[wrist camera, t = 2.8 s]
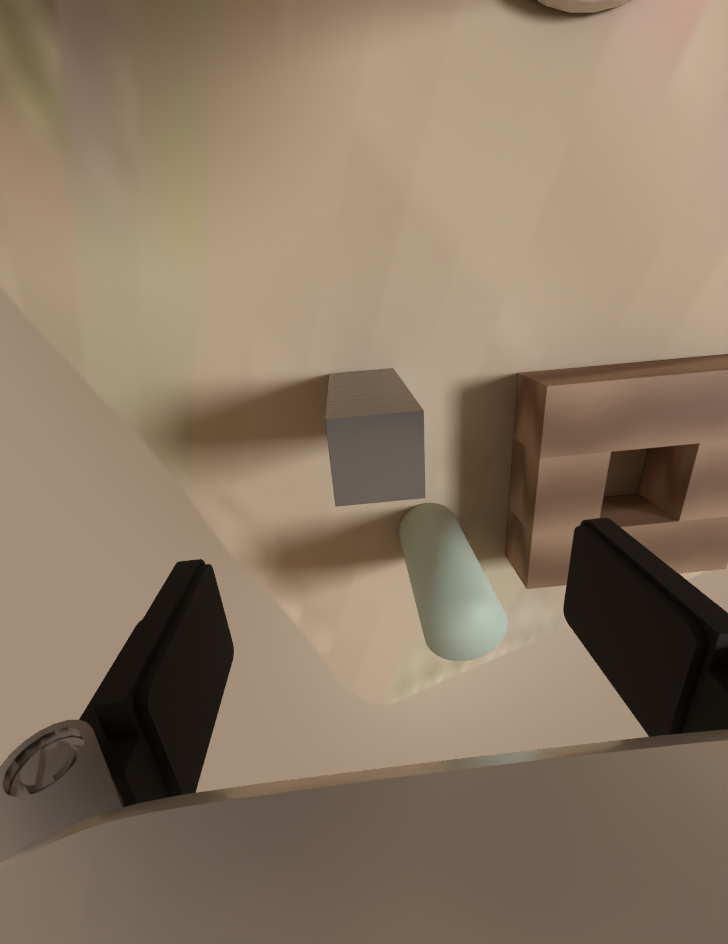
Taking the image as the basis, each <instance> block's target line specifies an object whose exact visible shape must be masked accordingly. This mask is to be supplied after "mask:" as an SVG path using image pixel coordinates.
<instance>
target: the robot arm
mask: <svg viewBox="0 0 728 944" xmlns="http://www.w3.org/2000/svg"><path fill="white" fill-rule="evenodd" d="M537 1H538V2H540V3H542V4H543V5H545V6H547V7H551V8H555V9H558V10H562V11H566V12H569V13H595V12H599V11H603V10H606V9H610V8H614V7H618V6H621V5H623V4H625V3H627V2H629V1H630V0H537ZM563 610H564V616H565V619H566V621H567V623H568V624H569V626H570V627H571V628H572V629H573V631H574V633H575V634H576V635H577V637H578V638H579V640H580V641H581V642H582V644H583V645H584V646H585V648H586V649H587V651H588V652H589V653H590V655H591V656H592V658H593V659H594V660H595V662H596V663H597V665H598V666H599V667H600V669H601V670H602V671H603V673H604V674H605V676H606V677H607V678H608V680H609V681H610V683H611V684H612V685H613V687H614V688H615V690H616V691H617V692H618V694H619V695H620V697H621V698H622V699H623V701H624V702H625V703H626V705H627V706H628V708H629V709H630V710H631V712H632V713H633V715H634V716H635V717H636V719H637V720H638V721H639V723H640V724H641V726H642V727H643V729H644V730H645V731H646V733H647V734H648V736H649V737H644V738H636V739H626V740H618V741H608V742H601V743H592V744H583V745H573V746H565V747H557V748H547V749H538V750H530V751H521V752H513V753H504V754H496V755H488V756H479V757H471V758H462V759H454V760H446V761H437V762H429V763H421V764H412V765H404V766H396V767H388V768H380V769H372V770H364V771H357V772H348V773H340V774H332V775H324V776H316V777H308V778H301V779H292V780H284V781H277V782H268V783H261V784H254V785H248V786H241V787H234V788H227V789H219V790H212V791H206V792H198V793H195V792H196V789H197V785H198V782H199V778H200V774H201V771H202V767H203V764H204V760H205V757H206V753H207V749H208V746H209V743H210V739H211V735H212V732H213V728H214V725H215V721H216V718H217V714H218V711H219V707H220V704H221V700H222V696H223V693H224V689H225V686H226V682H227V679H228V675H229V672H230V668H231V664H232V661H233V655H234V647H233V642H232V638H231V634H230V631H229V627H228V623H227V620H226V616H225V612H224V608H223V604H222V601H221V597H220V593H219V589H218V586H217V582H216V578H215V574H214V571H213V568H212V566H211V565H210V564H207V565H205V562H204V561H203V560H201V559H200V560H190V561H180V562H177V563H176V565H175V566H174V568H173V570H172V571H171V573H170V575H169V577H168V578H167V580H166V581H165V583H164V585H163V586H162V588H161V590H160V591H159V593H158V595H157V596H156V598H155V600H154V601H153V603H152V605H151V607H150V608H149V610H148V611H147V613H146V615H145V616H144V618H143V620H141V621H140V622H139V623H138V624H137V625H136V627H135V628H134V630H133V632H132V634H131V635H130V637H129V638H128V640H127V642H126V643H125V645H124V647H123V648H122V650H121V652H120V653H119V655H118V657H117V658H116V660H115V661H114V663H113V665H112V667H111V668H110V670H109V672H108V673H107V675H106V676H105V678H104V680H103V681H102V683H101V685H100V686H99V688H98V689H97V692H96V693H95V694H94V696H93V698H92V700H91V701H90V703H89V704H88V706H87V708H86V709H85V711H84V713H83V714H82V716H81V718H80V719H79V720H66V721H63V722H60V723H56V724H53V725H51V726H49V727H47V728H45V729H43V730H41V731H39V732H37V733H36V734H34V735H33V736H31V737H30V738H28V739H27V740H25V741H24V742H23V743H22V744H21V745H20V746H19V747H17V748H16V749H15V750H14V751H13V752H12V753H11V754H10V755H9V756H8V758H7V759H6V760H5V761H4V763H3V764H2V765H1V766H0V944H728V613H727V612H726V611H725V610H723V609H722V608H721V607H720V606H718V605H717V604H716V603H714V602H713V601H712V600H711V599H709V598H708V597H707V596H706V595H704V594H703V593H702V592H701V591H700V590H698V589H697V588H696V587H695V586H693V585H692V584H691V583H690V582H688V581H687V580H686V579H685V578H683V577H682V576H681V575H680V574H678V573H677V572H676V571H675V570H673V569H672V568H671V567H670V566H668V565H667V564H666V563H665V562H663V561H662V560H661V559H660V558H658V557H657V556H656V555H655V554H653V553H652V552H651V551H650V550H648V549H647V548H646V547H645V546H643V545H642V544H641V543H640V542H638V541H637V540H636V539H635V538H633V537H632V536H631V535H630V534H628V533H627V532H626V531H625V530H623V529H622V528H621V527H620V526H618V525H617V524H616V523H615V522H613V521H612V520H611V519H609V518H596V519H586V520H583V521H582V522H581V523H580V526H577V527H576V528H575V530H574V535H573V542H572V549H571V557H570V564H569V571H568V578H567V586H566V593H565V600H564V609H563Z"/></svg>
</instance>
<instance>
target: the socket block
mask: <svg viewBox="0 0 728 944" xmlns="http://www.w3.org/2000/svg"><path fill="white" fill-rule="evenodd" d="M645 448H648V451H647V456H646V460H645V465H644V470H643V474H642V479H641V484H640V489H639V493H638V494H630V495H620V496H610V497H603V496H604V490H605V484H606V479H607V473H608V467H609V462H610V456H611V452H613V451H624V450H634V449H645ZM596 518H609V519H611V520H612V521H613V522H615V523H616V524H617V525H618V526H620V527H621V528H622V529H623V530H625V531H626V532H627V533H628V534H630V535H631V536H632V537H633V538H635V539H636V540H637V541H638V542H640V543H641V544H642V545H643V546H645V547H646V548H647V549H648V550H650V551H651V552H652V553H653V554H655V555H656V556H657V557H658V558H660V559H661V560H662V561H663V562H665V563H666V564H667V565H668V566H670V567H671V568H672V569H673V570H675V571H676V572H677V573H678V574H679V573H688V572H698V571H708V570H718V569H725V568H726V566H727V563H728V354H724V355H713V356H702V357H691V358H680V359H669V360H658V361H647V362H636V363H624V364H613V365H602V366H591V367H580V368H569V369H558V370H547V371H536V372H525V373H518V385H517V399H516V413H515V427H514V440H513V454H512V468H511V482H510V496H509V510H508V524H507V537H506V551H505V556H506V557H507V559H508V560H509V562H510V563H511V565H512V567H513V568H514V570H515V571H516V573H517V574H518V576H519V578H520V579H521V581H522V582H523V584H524V585H525V587H526V589H532V588H542V587H551V586H561V585H567V578H568V571H569V564H570V557H571V549H572V542H573V535H574V530H575V528H576V527H577V526H580V523H581V522H582V521H583V520H586V519H596Z"/></svg>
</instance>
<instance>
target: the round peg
mask: <svg viewBox="0 0 728 944" xmlns="http://www.w3.org/2000/svg"><path fill="white" fill-rule="evenodd" d="M398 533H399V538H400V542H401V546H402V550H403V554H404V558H405V562H406V566H407V570H408V574H409V578H410V582H411V586H412V590H413V594H414V598H415V602H416V606H417V610H418V614H419V618H420V622H421V626H422V629H423V633H424V637H425V641H426V644H427V646H428V647H429V648H430V650H431V651H432V652H433V653H435V654H436V655H438V656H440V657H442V658H444V659H448V660H453V661H466V660H472V659H476V658H478V657H481V656H483V655H485V654H487V653H489V652H490V651H492V650H493V649H494V648H496V647H497V646H498V645H499V643H500V642H501V641H502V639H503V638H504V636H505V634H506V631H507V626H508V621H507V617H506V614H505V612H504V610H503V608H502V606H501V604H500V602H499V600H498V598H497V597H496V595H495V593H494V591H493V589H492V587H491V585H490V583H489V581H488V579H487V577H486V575H485V573H484V572H483V570H482V568H481V566H480V564H479V562H478V560H477V558H476V556H475V554H474V552H473V550H472V549H471V547H470V545H469V543H468V541H467V539H466V537H465V535H464V533H463V531H462V529H461V527H460V525H459V524H458V522H457V520H456V518H455V516H454V514H453V513H452V512H451V511H450V510H449V509H448V508H446V507H445V506H443V505H440V504H436V503H426V504H421V505H418V506H416V507H414V508H412V509H411V510H409V511H408V512H407V513H406V514H405V515H404V516H403V518H402V520H401V522H400V524H399V529H398Z"/></svg>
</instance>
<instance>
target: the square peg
mask: <svg viewBox="0 0 728 944" xmlns="http://www.w3.org/2000/svg"><path fill="white" fill-rule="evenodd" d="M325 423H326V431H327V440H328V448H329V456H330V465H331V473H332V482H333V490H334V498H335V507H336V506H346V505H357V504H367V503H377V502H388V501H398V500H408V499H419V498H425V460H424V411H423V409H422V408H421V406H420V405H419V403H418V402H417V401H416V399H415V398H414V396H413V395H412V394H411V392H410V391H409V390H408V388H407V387H406V385H405V384H404V383H403V381H402V380H401V378H400V377H399V376H398V374H397V373H396V372H395V370H394V369H393V368H390V369H379V370H368V371H357V372H346V373H335V374H329V384H328V394H327V404H326V415H325Z"/></svg>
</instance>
